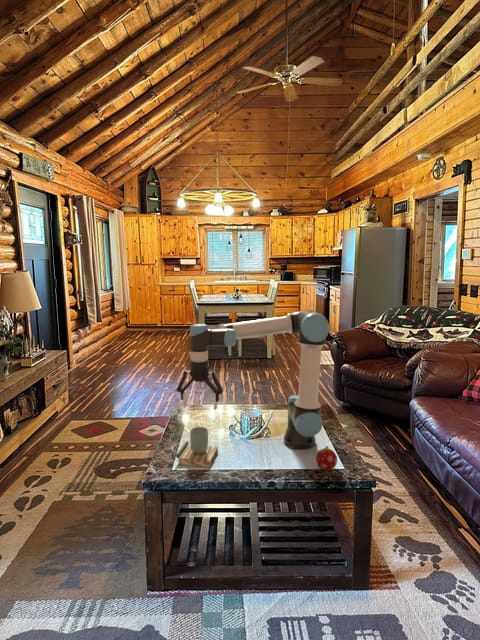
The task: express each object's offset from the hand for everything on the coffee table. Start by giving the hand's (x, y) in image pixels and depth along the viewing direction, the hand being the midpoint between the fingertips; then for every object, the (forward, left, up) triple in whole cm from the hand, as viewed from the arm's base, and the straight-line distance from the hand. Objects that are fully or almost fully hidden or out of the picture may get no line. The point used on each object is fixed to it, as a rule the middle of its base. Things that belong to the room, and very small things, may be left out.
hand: (200, 407), depth 179 cm
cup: (0, +1, -20) cm, 20 cm away
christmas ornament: (-54, 0, -23) cm, 59 cm away
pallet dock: (+1, +1, -23) cm, 23 cm away
